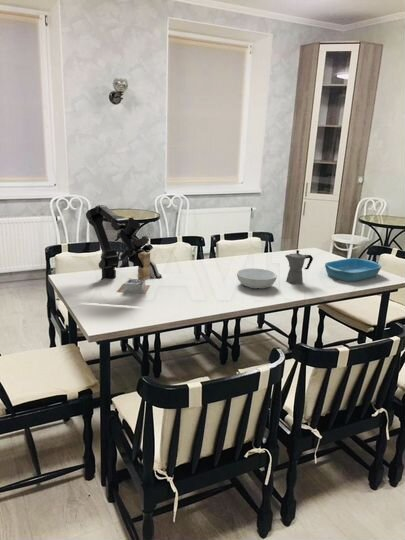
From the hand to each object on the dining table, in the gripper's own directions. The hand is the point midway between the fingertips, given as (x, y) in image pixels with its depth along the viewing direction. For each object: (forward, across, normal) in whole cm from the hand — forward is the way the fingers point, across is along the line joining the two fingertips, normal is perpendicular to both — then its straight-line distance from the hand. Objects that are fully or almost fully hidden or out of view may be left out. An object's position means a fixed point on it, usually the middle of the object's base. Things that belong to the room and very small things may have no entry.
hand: (146, 266), depth 212 cm
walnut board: (+5, -1, +14) cm, 15 cm away
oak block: (+4, 0, +6) cm, 7 cm away
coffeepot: (+46, +67, -28) cm, 86 cm away
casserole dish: (+62, +102, -43) cm, 126 cm away
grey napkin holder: (-2, +26, +22) cm, 34 cm away
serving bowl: (+36, +46, -17) cm, 61 cm away
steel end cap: (+6, -3, +12) cm, 13 cm away
